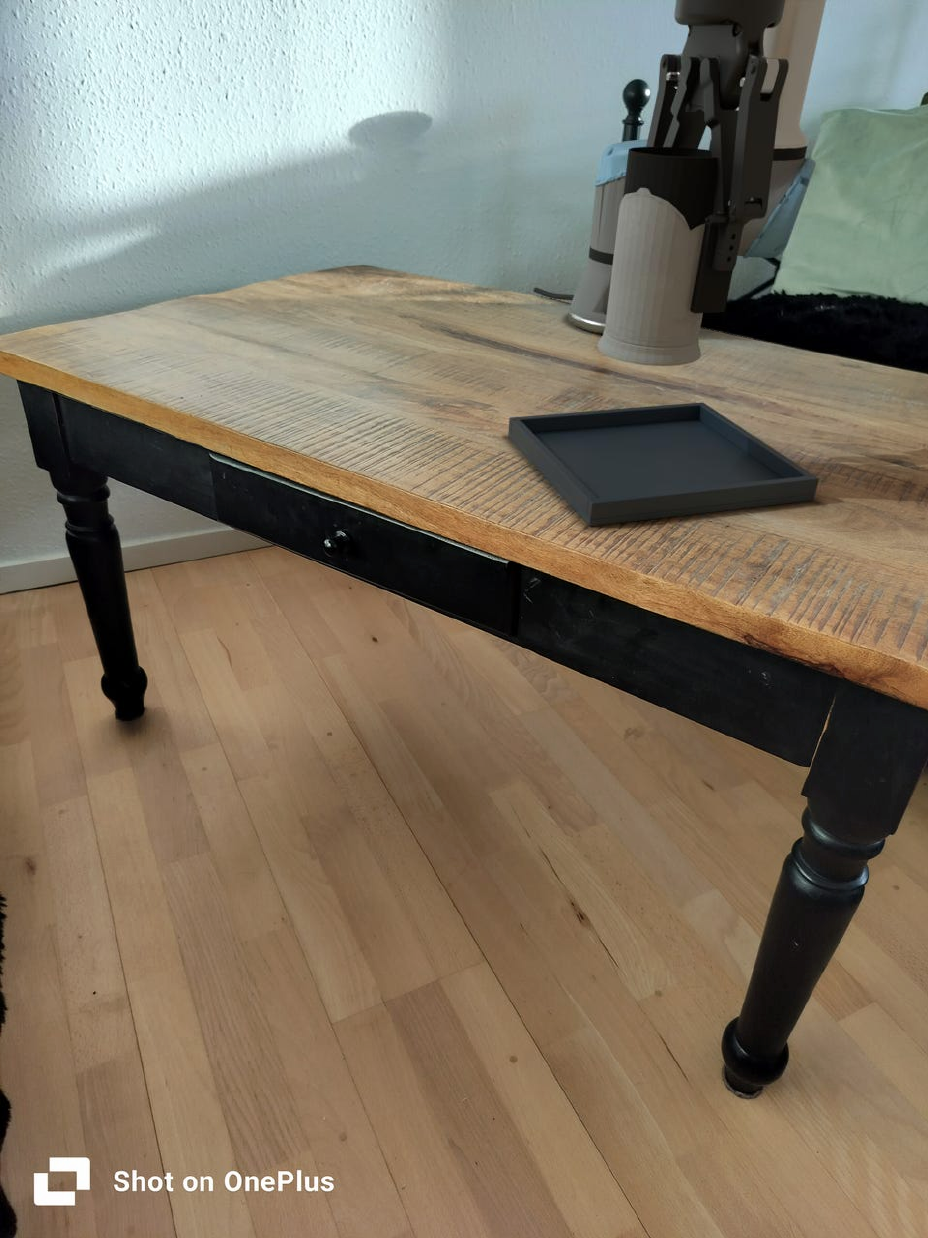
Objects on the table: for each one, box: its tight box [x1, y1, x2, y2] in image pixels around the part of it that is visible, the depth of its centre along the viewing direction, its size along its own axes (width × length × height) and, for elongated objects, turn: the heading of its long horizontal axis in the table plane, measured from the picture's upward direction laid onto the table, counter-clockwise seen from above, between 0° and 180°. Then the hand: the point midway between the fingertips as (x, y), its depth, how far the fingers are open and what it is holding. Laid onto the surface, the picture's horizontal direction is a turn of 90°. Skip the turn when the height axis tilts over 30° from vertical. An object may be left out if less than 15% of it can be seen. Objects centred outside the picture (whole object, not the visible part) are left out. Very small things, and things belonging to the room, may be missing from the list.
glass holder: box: [597, 147, 730, 367], centre depth 71 cm, size 9×14×15 cm, turn 135°
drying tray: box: [507, 401, 820, 527], centre depth 80 cm, size 20×22×2 cm
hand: (680, 297), depth 72 cm, fingers closed on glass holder, 8 cm apart
